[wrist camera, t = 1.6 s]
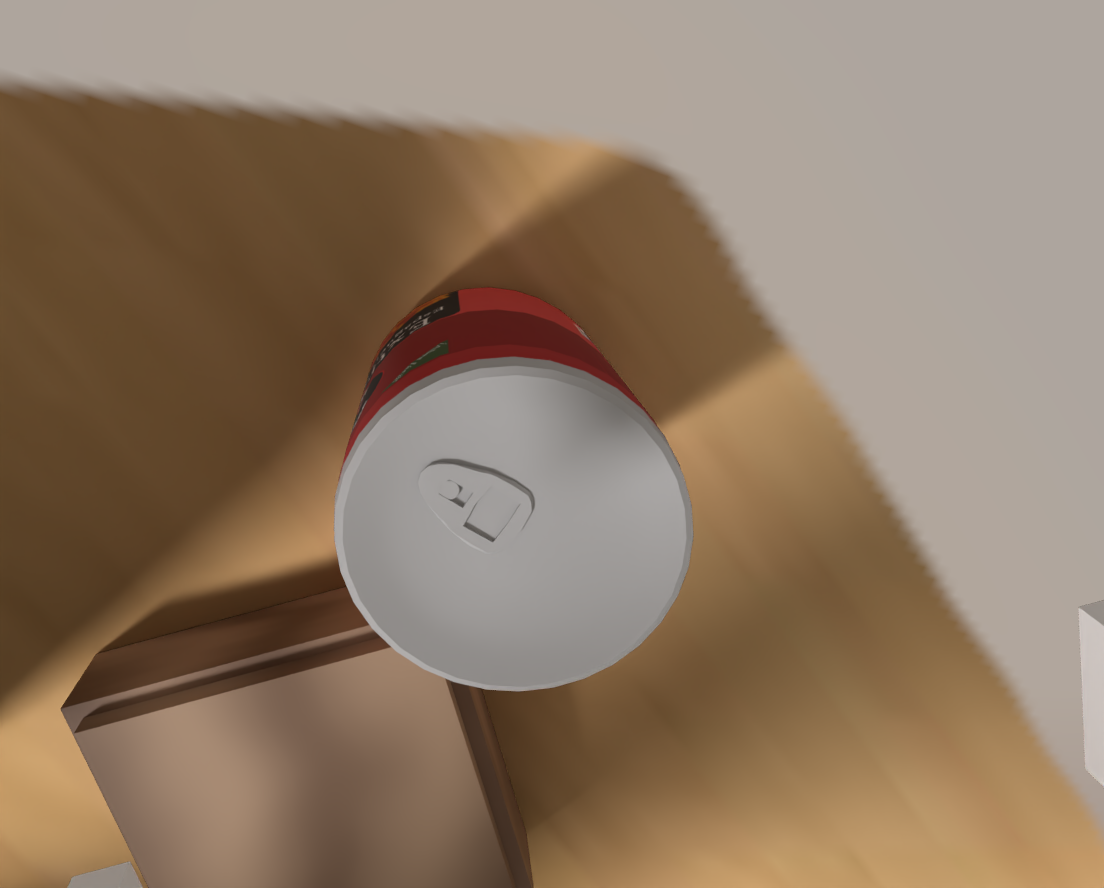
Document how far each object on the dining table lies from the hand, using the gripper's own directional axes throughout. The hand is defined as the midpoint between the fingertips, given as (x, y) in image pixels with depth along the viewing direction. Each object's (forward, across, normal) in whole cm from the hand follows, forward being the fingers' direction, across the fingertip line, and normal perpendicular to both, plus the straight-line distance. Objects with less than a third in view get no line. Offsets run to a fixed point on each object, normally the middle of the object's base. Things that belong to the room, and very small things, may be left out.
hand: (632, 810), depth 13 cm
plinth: (+19, -10, -10) cm, 24 cm away
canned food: (+19, -1, +1) cm, 19 cm away
